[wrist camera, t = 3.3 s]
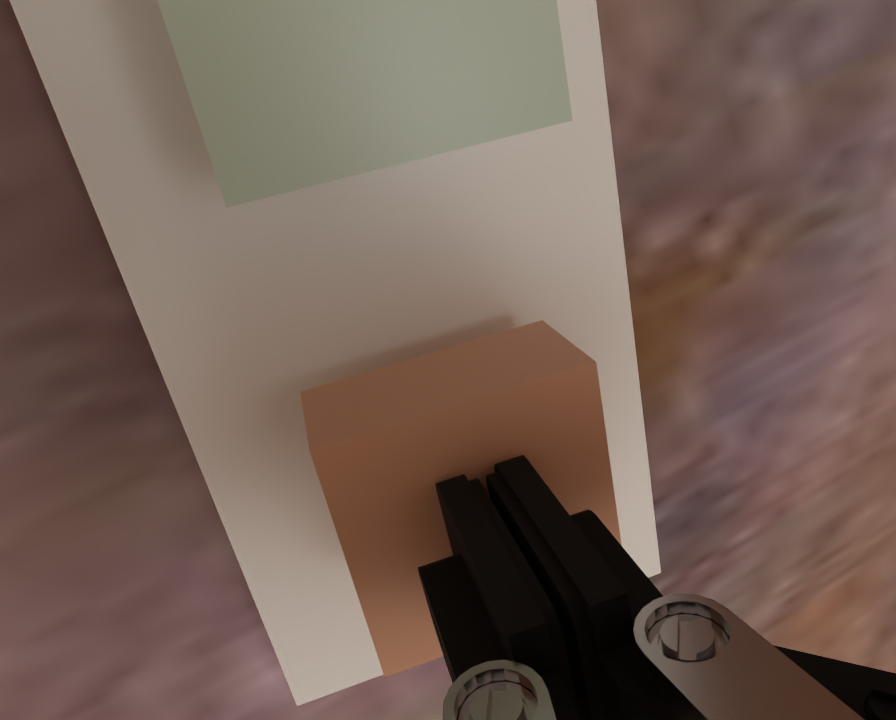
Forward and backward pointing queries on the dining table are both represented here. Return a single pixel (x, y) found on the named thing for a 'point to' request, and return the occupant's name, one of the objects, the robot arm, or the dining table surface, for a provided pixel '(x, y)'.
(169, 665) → the dining table surface
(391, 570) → the terracotta key
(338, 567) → the keypad base
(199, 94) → the sage key
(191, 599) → the dining table surface
